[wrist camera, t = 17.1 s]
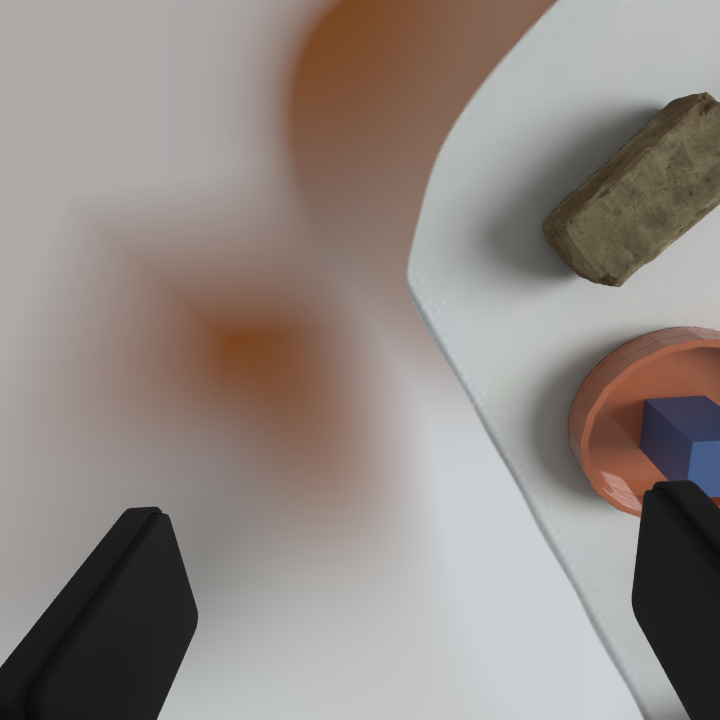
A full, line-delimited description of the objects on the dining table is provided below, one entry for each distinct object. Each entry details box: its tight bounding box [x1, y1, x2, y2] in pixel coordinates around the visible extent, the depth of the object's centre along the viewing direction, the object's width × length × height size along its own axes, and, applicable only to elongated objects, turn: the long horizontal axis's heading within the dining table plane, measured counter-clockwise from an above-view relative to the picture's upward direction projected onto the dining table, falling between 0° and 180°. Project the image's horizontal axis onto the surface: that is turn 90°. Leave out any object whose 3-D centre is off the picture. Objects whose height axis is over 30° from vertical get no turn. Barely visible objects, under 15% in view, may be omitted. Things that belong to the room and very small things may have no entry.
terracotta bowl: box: [568, 327, 720, 518], centre depth 37 cm, size 15×15×3 cm
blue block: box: [640, 395, 720, 497], centre depth 35 cm, size 4×4×6 cm
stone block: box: [543, 92, 720, 287], centre depth 31 cm, size 6×12×5 cm, turn 138°
